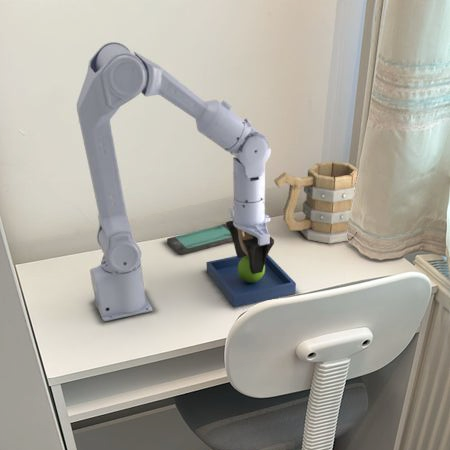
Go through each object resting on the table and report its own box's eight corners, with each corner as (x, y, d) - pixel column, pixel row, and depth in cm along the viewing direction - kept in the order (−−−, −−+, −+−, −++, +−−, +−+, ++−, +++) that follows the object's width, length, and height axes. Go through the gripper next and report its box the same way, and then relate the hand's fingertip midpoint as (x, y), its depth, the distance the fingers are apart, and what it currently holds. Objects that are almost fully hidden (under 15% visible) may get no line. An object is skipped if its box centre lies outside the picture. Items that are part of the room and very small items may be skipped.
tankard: (341, 216, 151) (347, 151, 142) (366, 237, 142) (374, 170, 132) (262, 229, 147) (263, 163, 137) (283, 252, 137) (285, 184, 128)
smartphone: (165, 237, 142) (225, 222, 147) (166, 243, 143) (225, 227, 148) (179, 250, 137) (240, 234, 142) (179, 256, 138) (240, 239, 143)
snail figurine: (249, 270, 131) (248, 214, 123) (270, 281, 127) (271, 224, 119) (229, 278, 128) (227, 222, 120) (250, 290, 124) (250, 232, 116)
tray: (295, 293, 124) (296, 283, 122) (233, 307, 120) (233, 296, 119) (263, 260, 135) (263, 250, 133) (206, 272, 132) (206, 261, 130)
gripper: (285, 207, 112) (283, 276, 121) (253, 180, 123) (253, 245, 131) (249, 214, 110) (249, 283, 119) (219, 186, 121) (222, 251, 130)
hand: (249, 264), depth 125 cm, fingers open, 7 cm apart
